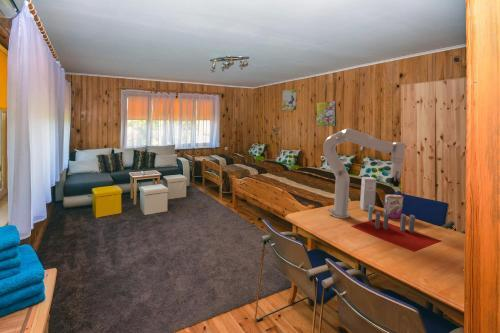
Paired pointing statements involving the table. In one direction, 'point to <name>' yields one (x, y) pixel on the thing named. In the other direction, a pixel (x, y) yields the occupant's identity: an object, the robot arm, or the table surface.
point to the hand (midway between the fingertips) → (394, 185)
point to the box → (368, 192)
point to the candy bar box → (393, 205)
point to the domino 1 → (370, 213)
